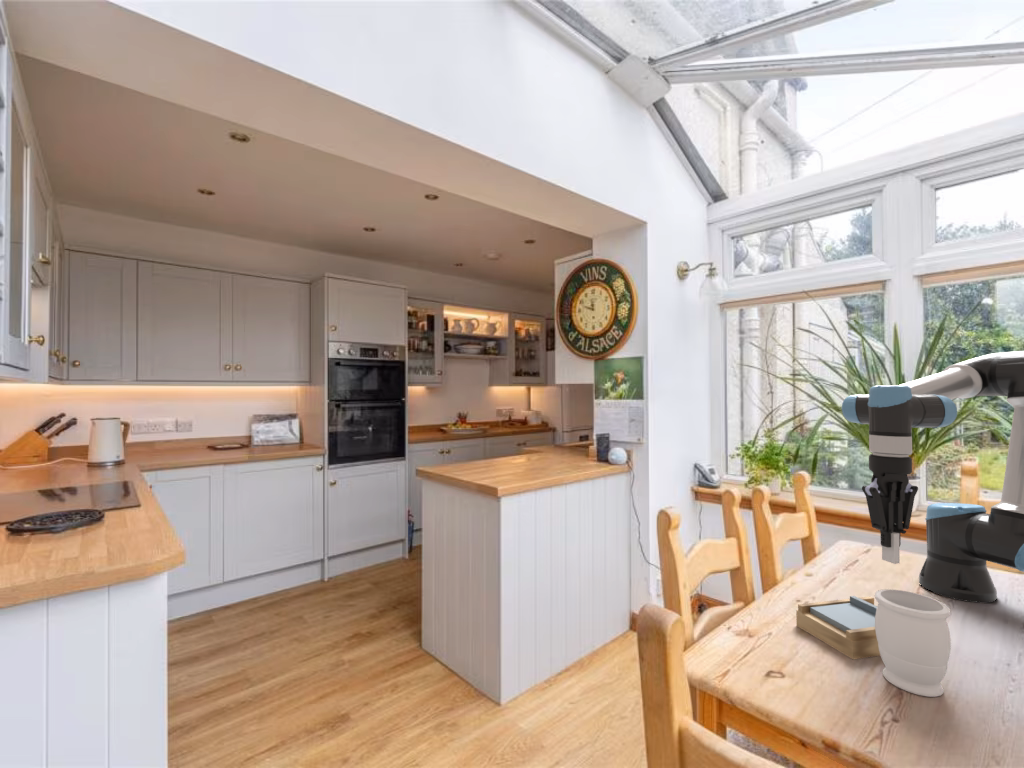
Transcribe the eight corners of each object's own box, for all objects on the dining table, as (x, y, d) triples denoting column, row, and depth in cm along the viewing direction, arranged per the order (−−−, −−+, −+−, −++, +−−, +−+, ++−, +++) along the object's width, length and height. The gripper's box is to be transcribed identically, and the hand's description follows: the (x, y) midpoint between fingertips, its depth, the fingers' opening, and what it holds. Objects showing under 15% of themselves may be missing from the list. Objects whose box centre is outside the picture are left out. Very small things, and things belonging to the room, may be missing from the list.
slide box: (868, 616, 112) (868, 595, 112) (932, 648, 98) (932, 623, 98) (796, 625, 107) (796, 603, 107) (853, 659, 94) (852, 634, 94)
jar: (966, 696, 82) (965, 609, 83) (924, 707, 79) (923, 617, 80) (901, 662, 93) (900, 585, 93) (861, 671, 90) (860, 591, 90)
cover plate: (854, 607, 109) (854, 595, 109) (900, 629, 98) (900, 616, 99) (810, 612, 106) (810, 600, 106) (852, 636, 96) (852, 622, 96)
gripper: (896, 452, 110) (897, 554, 110) (850, 452, 108) (850, 557, 107) (931, 456, 103) (932, 565, 102) (882, 457, 100) (883, 569, 100)
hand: (890, 561), depth 105 cm, fingers closed
